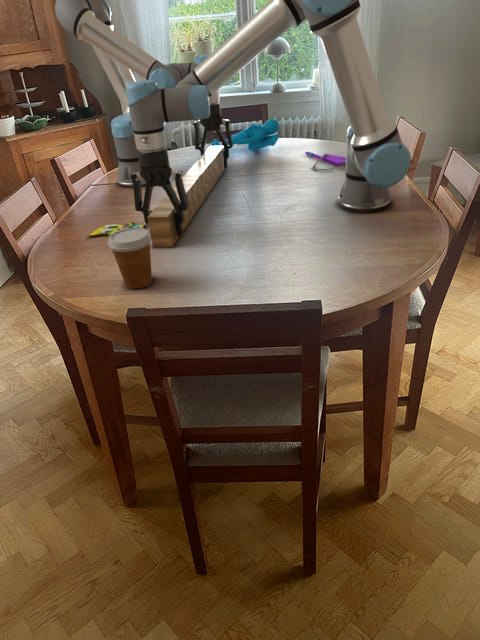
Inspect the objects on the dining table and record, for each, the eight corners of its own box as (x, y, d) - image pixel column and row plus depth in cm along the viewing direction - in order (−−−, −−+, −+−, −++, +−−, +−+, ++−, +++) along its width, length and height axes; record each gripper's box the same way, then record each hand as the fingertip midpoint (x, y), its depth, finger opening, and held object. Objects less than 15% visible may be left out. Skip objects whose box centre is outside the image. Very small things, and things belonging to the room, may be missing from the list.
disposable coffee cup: (110, 289, 111) (98, 241, 105) (132, 270, 119) (122, 225, 112) (145, 294, 108) (135, 245, 101) (166, 275, 115) (157, 228, 109)
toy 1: (137, 233, 137) (87, 234, 139) (137, 236, 137) (88, 237, 139) (147, 220, 145) (100, 221, 147) (147, 223, 146) (101, 224, 148)
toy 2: (216, 133, 217) (279, 113, 206) (223, 156, 222) (286, 138, 212) (206, 142, 203) (273, 121, 193) (214, 166, 208) (280, 148, 198)
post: (212, 168, 192) (209, 146, 187) (225, 167, 191) (223, 145, 186) (152, 246, 130) (147, 217, 126) (172, 246, 129) (167, 217, 125)
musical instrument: (342, 175, 173) (362, 153, 185) (341, 169, 172) (361, 148, 184) (283, 174, 186) (305, 153, 198) (282, 169, 184) (305, 148, 196)
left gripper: (180, 106, 172) (189, 170, 185) (234, 103, 169) (239, 169, 181) (186, 103, 179) (193, 165, 191) (238, 100, 175) (243, 163, 187)
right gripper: (109, 154, 119) (128, 239, 132) (185, 151, 116) (198, 239, 128) (120, 146, 126) (137, 229, 138) (193, 143, 122) (204, 228, 134)
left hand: (216, 167), depth 186 cm, fingers open, 7 cm apart
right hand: (166, 234), depth 133 cm, fingers open, 7 cm apart
